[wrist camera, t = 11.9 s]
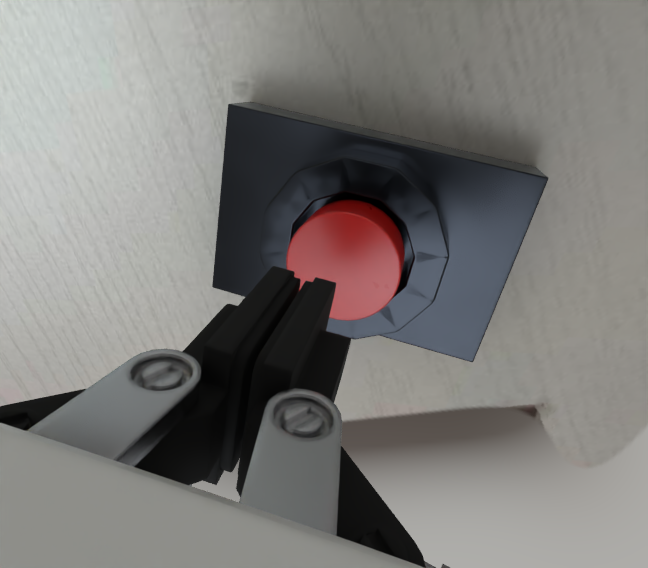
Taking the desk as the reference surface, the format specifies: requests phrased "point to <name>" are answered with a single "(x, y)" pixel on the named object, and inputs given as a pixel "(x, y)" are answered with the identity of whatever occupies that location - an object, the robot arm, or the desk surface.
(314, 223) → the button
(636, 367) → the desk surface
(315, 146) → the button box
